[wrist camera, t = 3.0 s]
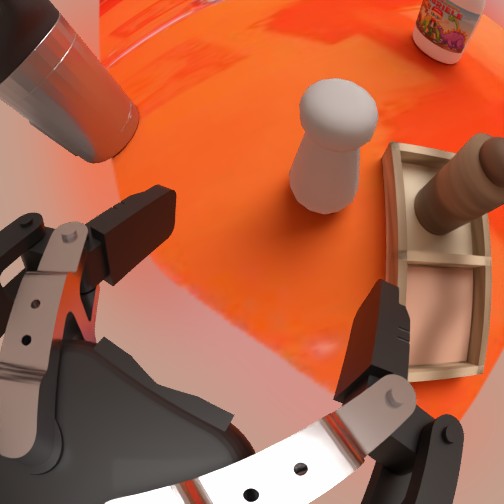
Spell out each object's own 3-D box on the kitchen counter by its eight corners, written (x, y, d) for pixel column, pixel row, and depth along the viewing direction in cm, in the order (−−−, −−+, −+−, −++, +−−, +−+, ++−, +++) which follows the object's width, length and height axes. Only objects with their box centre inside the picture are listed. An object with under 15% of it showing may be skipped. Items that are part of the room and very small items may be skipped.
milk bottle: (421, 26, 27) (448, -69, 8) (463, 54, 26) (505, -36, 6) (403, 41, 27) (432, -71, 7) (450, 73, 25) (501, -33, 6)
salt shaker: (297, 226, 25) (299, 155, 12) (283, 168, 26) (271, 70, 13) (360, 213, 24) (412, 139, 12) (342, 157, 25) (369, 59, 13)
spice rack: (376, 373, 22) (387, 383, 19) (381, 157, 25) (390, 141, 22) (465, 367, 20) (482, 373, 17) (463, 171, 23) (478, 159, 20)
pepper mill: (415, 233, 22) (495, 181, 10) (412, 182, 23) (475, 108, 11) (457, 237, 22) (543, 195, 10) (453, 189, 22) (524, 127, 10)
